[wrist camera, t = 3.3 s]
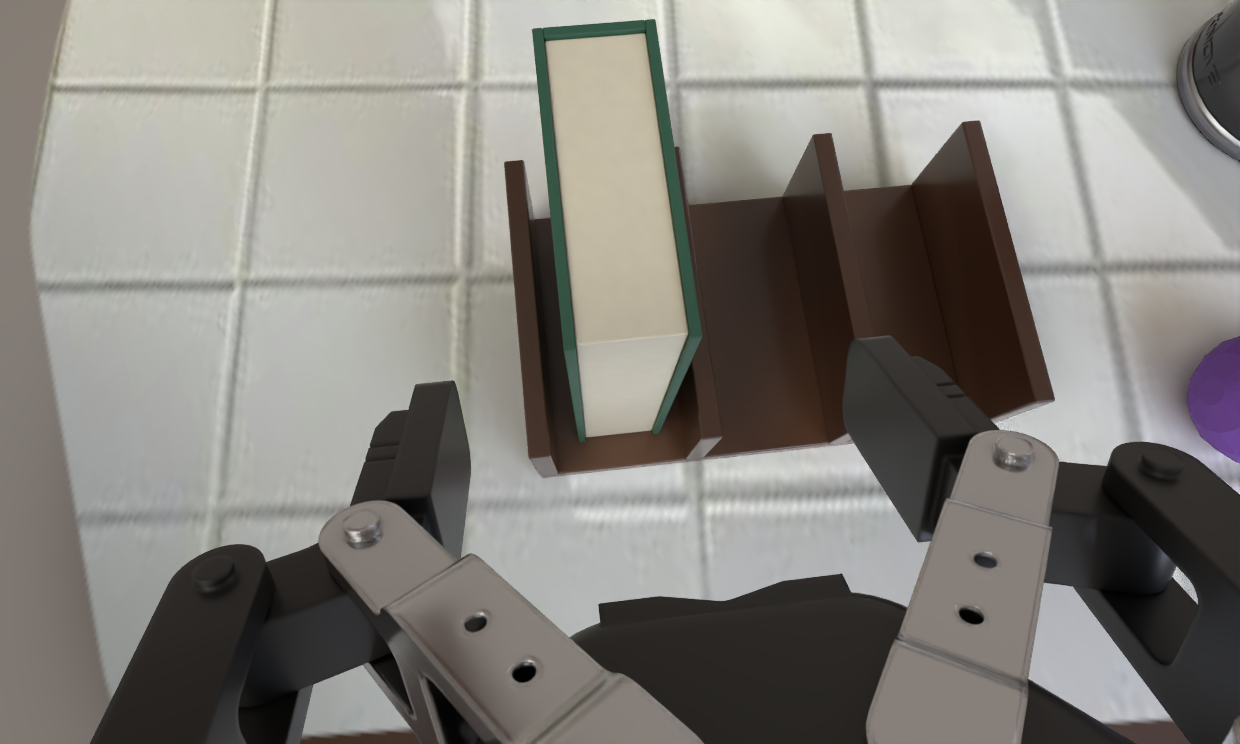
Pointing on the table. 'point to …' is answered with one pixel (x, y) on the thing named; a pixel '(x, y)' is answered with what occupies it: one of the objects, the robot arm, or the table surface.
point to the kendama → (1218, 398)
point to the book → (616, 224)
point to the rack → (801, 309)
